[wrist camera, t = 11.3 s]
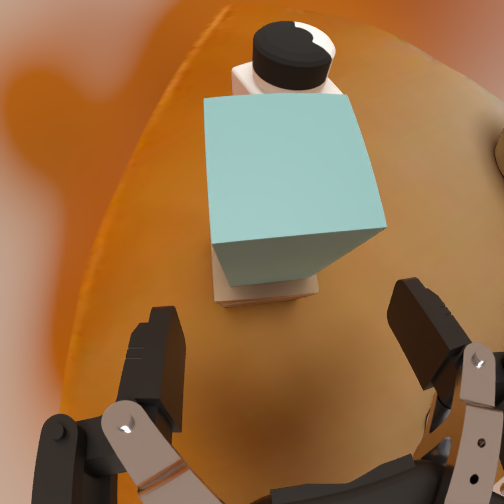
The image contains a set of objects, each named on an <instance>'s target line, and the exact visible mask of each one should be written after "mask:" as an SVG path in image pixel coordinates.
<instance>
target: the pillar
mask: <svg viewBox="0 0 504 504" xmlns="http://www.w3.org/2000/svg"><path fill="white" fill-rule="evenodd" d="M204 123H205V146H206V166H207V184H208V200H209V215H210V229H211V241H212V246H213V248H214V250H215V253H216V255H217V257H218V260H219V262H220V264H221V267H222V269H223V271H224V274H225V276H226V278H227V281H228V283H229V285H230V287H232V286H242V285H251V284H261V283H270V282H279V281H287V280H296V279H304V278H309V277H311V276H312V275H314V274H315V273H317V272H319V271H320V270H322V269H324V268H325V267H327V266H328V265H330V264H331V263H333V262H335V261H336V260H338V259H339V258H341V257H342V256H344V255H346V254H347V253H349V252H350V251H352V250H353V249H355V248H356V247H358V246H359V245H361V244H363V243H364V242H366V241H367V240H369V239H370V238H372V237H373V236H375V235H376V234H378V233H379V232H381V231H382V230H384V229H385V228H387V225H386V220H385V216H384V212H383V207H382V203H381V199H380V195H379V192H378V188H377V184H376V180H375V177H374V173H373V170H372V166H371V163H370V160H369V156H368V153H367V150H366V147H365V144H364V141H363V137H362V134H361V132H360V129H359V126H358V123H357V120H356V117H355V114H354V112H353V109H352V106H351V104H350V101H349V98H348V96H347V95H343V94H322V93H271V94H249V95H235V96H223V97H213V98H204Z"/></svg>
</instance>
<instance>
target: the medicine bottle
mask: <svg viewBox="0 0 504 504" xmlns="http://www.w3.org/2000/svg"><path fill="white" fill-rule="evenodd" d="M334 55H335V47H334V45H333V43H332V41H331V40H330V38H329V37H328V36H327V35H326V34H325V33H323V32H322V31H320V30H319V29H317V28H315V27H313V26H310V25H307V24H304V23H300V22H293V21H279V22H274V23H270V24H267V25H265V26H264V27H262V28H261V29H259V30H258V31H257V32H256V33H255V35H254V38H253V59H252V62H249V63H246V64H242V65H239V66H236V67H234V68H233V69H232V91H233V96H235V95H249V94H271V93H322V94H343V93H342V92H341V91H340V90H339V89H338V88H337V87H336V86H335V85H334V84H333V82H332V81H331V80H330V79H329V78H328V74H329V71H330V68H331V65H332V62H333V59H334Z"/></svg>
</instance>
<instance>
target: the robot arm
mask: <svg viewBox="0 0 504 504" xmlns="http://www.w3.org/2000/svg"><path fill="white" fill-rule="evenodd" d="M387 319H388V323H389V326H390V328H391V329H392V331H393V333H394V335H395V337H396V338H397V340H398V342H399V344H400V346H401V348H402V350H403V351H404V353H405V355H406V357H407V359H408V361H409V363H410V365H411V367H412V369H413V371H414V373H415V375H416V377H417V379H418V381H419V383H420V385H421V387H422V389H423V391H424V390H427V389H429V388H432V387H434V388H435V390H436V392H435V393H434V395H433V399H432V404H431V408H430V412H429V417H428V421H427V425H426V429H425V432H424V436H423V438H422V440H421V442H420V444H419V445H418V447H417V449H416V451H415V453H414V455H413V457H412V455H411V454H409V455H406V456H404V457H401V458H398V459H396V460H393V461H390V462H387V463H384V464H381V465H380V466H378V467H376V468H375V469H373V470H371V471H370V472H368V473H366V474H365V475H363V476H361V477H359V478H357V479H356V480H354V481H352V482H350V483H346V484H304V485H299V486H293V487H286V488H279V489H272V490H270V495H268V496H265V497H262V498H260V499H258V500H256V501H254V502H252V503H250V504H504V497H503V496H501V495H499V494H497V493H495V492H493V491H492V490H493V486H494V481H495V476H496V471H497V466H498V460H499V458H500V461H501V464H502V467H503V470H504V352H492V351H491V350H490V349H489V348H488V347H487V346H485V345H483V344H481V343H472V342H471V341H470V339H469V338H468V336H467V335H466V333H465V332H464V330H463V329H462V328H461V326H460V325H459V323H458V322H457V321H456V319H455V318H454V316H453V315H451V312H450V311H449V310H448V308H447V307H445V304H444V303H443V302H442V300H441V299H440V298H439V296H438V295H436V294H435V293H434V292H432V291H431V290H429V289H428V288H427V289H426V288H425V287H424V286H423V284H422V283H421V282H420V280H419V279H418V278H416V277H413V278H407V279H401V280H398V281H397V282H396V284H395V287H394V290H393V294H392V297H391V300H390V304H389V307H388V310H387ZM128 348H129V349H128V350H127V354H126V360H125V363H124V367H123V372H122V376H121V381H120V386H119V391H118V396H117V399H116V402H115V403H113V404H112V405H110V406H109V407H108V408H107V409H106V410H105V412H104V414H103V415H101V416H99V417H95V418H91V419H86V420H81V421H77V422H75V421H74V420H73V419H72V418H71V417H69V416H68V415H65V414H57V415H53V416H51V417H50V418H49V419H47V421H46V422H45V423H44V425H43V427H42V430H41V435H40V441H39V446H38V452H37V459H36V465H35V472H34V481H33V490H32V502H31V504H117V476H118V473H123V472H128V473H129V475H130V476H131V478H132V479H133V481H134V482H135V484H136V485H137V487H138V491H137V492H138V495H139V497H140V499H141V500H142V502H143V503H144V504H225V503H224V502H223V501H222V500H221V499H220V498H219V497H218V496H217V495H216V494H215V493H214V492H213V491H212V490H211V489H210V488H209V487H208V486H207V485H206V484H205V483H204V482H203V481H202V479H201V478H200V477H199V476H198V475H197V474H196V473H195V472H194V471H193V470H192V468H191V467H190V466H189V465H188V464H187V463H186V462H185V460H184V459H183V458H182V457H181V456H180V454H179V453H178V452H177V451H176V450H175V448H174V447H173V446H172V432H182V407H183V387H184V370H185V355H186V345H185V338H184V334H183V331H182V328H181V325H180V321H179V318H178V315H177V311H176V308H175V307H174V306H163V307H153V308H152V309H151V313H150V318H149V322H148V323H139V325H138V326H137V327H136V329H135V330H134V331H133V333H132V334H131V337H130V342H129V346H128ZM500 492H501V494H503V495H504V483H503V484H502V486H501V488H500Z"/></svg>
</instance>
